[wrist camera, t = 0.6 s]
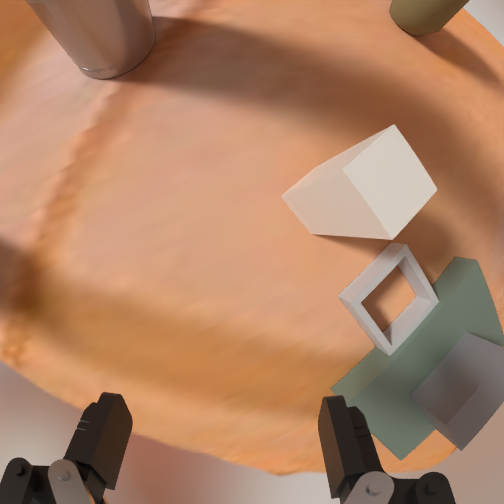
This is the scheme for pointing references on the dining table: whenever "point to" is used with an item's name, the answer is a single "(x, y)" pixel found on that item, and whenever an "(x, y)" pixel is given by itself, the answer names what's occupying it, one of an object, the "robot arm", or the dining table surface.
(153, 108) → the dining table surface
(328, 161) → the tall white pillar block
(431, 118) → the dining table surface
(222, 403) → the dining table surface
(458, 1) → the squeeze bottle
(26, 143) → the dining table surface
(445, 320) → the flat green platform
